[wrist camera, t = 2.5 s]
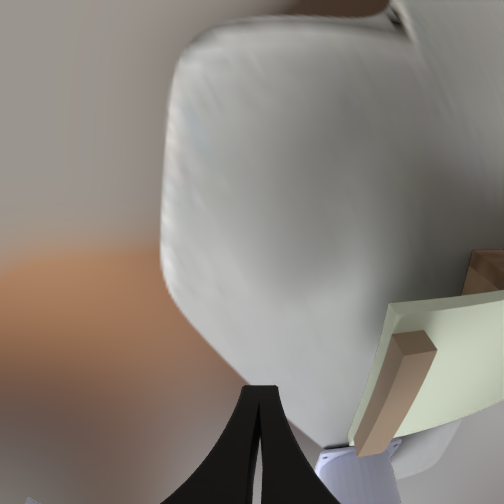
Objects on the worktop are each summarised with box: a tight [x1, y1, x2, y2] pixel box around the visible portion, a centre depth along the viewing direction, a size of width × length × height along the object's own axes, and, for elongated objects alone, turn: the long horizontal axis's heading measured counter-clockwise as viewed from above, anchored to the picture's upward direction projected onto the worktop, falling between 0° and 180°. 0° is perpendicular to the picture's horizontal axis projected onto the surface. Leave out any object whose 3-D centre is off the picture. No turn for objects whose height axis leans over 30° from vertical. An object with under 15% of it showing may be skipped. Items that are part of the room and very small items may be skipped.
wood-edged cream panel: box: [348, 290, 504, 457], centre depth 9 cm, size 9×16×2 cm, turn 92°
